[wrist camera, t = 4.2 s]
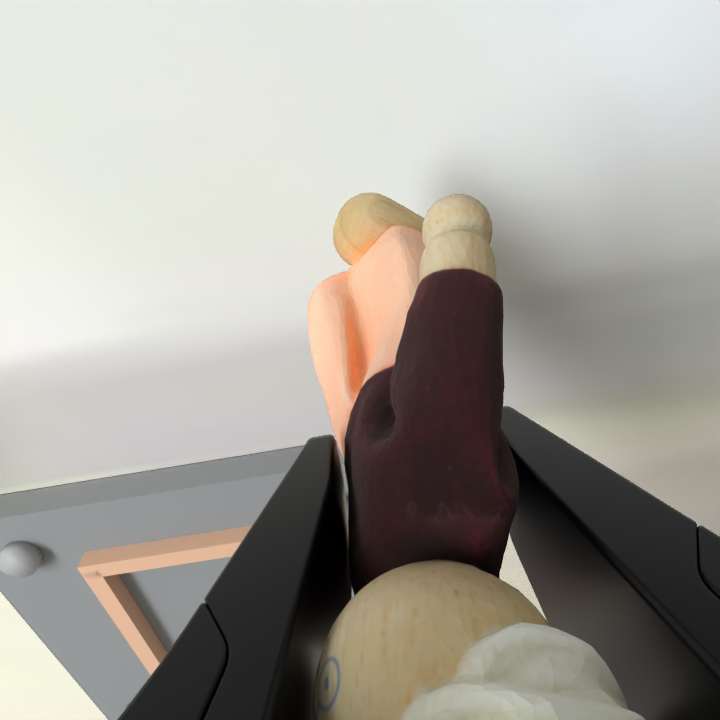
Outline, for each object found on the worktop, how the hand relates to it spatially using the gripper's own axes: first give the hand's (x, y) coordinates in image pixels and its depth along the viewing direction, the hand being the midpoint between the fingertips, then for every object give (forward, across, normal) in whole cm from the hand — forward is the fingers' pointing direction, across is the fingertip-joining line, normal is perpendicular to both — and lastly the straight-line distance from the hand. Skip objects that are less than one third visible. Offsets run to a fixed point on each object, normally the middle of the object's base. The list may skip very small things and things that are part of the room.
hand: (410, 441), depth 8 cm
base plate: (+10, +10, +17) cm, 22 cm away
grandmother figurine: (+6, 0, 0) cm, 6 cm away
